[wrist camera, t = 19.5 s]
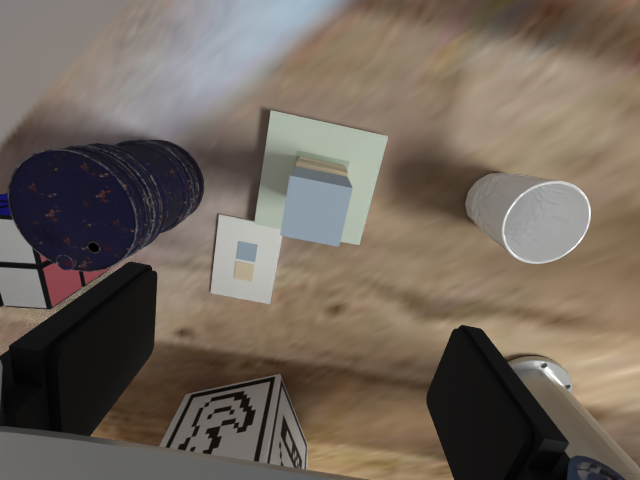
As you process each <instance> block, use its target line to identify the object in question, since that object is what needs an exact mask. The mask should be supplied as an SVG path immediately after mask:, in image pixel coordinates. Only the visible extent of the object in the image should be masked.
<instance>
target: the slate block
mask: <svg viewBox="0 0 640 480" xmlns="http://www.w3.org/2000/svg"><path fill="white" fill-rule="evenodd" d="M352 190H353V188H352V185H351V183H350V181H349V179H348V177H346V176H341V175H336V174H331V173H326V172H322V171H317V170H312V169H307V168H302V167H297V166H296V167H295V169H294V170H293V172H292V173H291V175H290V178H289V184H288V190H287V196H286V202H285V208H284V214H283V220H282V226H281V232H280V236H285V237H291V238H296V239H301V240H306V241H312V242H317V243H322V244H327V245H332V246H338V247H339V245H340V241H341V237H342V232H343V228H344V224H345V219H346V215H347V211H348V207H349V202H350V198H351V194H352Z"/></svg>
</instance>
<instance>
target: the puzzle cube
mask: <svg viewBox="0 0 640 480" xmlns="http://www.w3.org/2000/svg"><path fill="white" fill-rule="evenodd" d="M108 270H109V268H108V269H104V270H100V271H93V272H83V271H76V270H68V271H66V270H62V269H61V268H59V267H58V266H57V264H55V263H53V262H51V261H49V260H48V259H46V258H44V257H43V256H42V255H40V254H39V253H38V252H37V251H35V250H34V249H33V248H32V247H31V246H30V245H29V244H28V243H27V242H26V240H25V239H24V238H23V236H22V235H21V234H20V232H19V230H18V229H17V227H16V225H15V223H14V221H13V219H12V216H11V213H10V209H9V204H8V193H6V194H1V195H0V307H2V306H7V307H18V308H35V309H51V308H53V307H54V306H56V305H57V304H59V303H60V302H62V301H63V300H65V299H66V298H68V297H69V296H71V295H72V294H74V293H75V292H77V291H78V290H80V289H81V288H82V287H84V286H86V285H87V284H89V283H90V282H92V281H93V280H95V279H96V278H98V277H99V276H101V275H102V274H104V273H105V272H107V271H108Z"/></svg>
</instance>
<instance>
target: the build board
mask: <svg viewBox="0 0 640 480" xmlns="http://www.w3.org/2000/svg"><path fill="white" fill-rule="evenodd" d="M387 139H388V136H385V135H380V134H376V133H371V132H367V131H362V130H358V129H353V128H349V127H344V126H340V125H335V124H331V123H326V122H322V121H317V120H313V119H308V118H304V117H299V116H295V115H290V114H286V113H281V112H277V111H272V110H271V113H270V120H269V127H268V134H267V140H266V147H265V154H264V161H263V167H262V174H261V181H260V188H259V194H258V201H257V208H256V215H255V221H254V224H256V225H261V226H266V227H271V228H276V229H281V226H282V220H283V214H284V208H285V202H286V196H287V190H288V184H289V178H290V175H291V173H292V172H293V170H294V169H295V167H296V162H297V161H298V159H299V158H300V157H301V156H302V157H307V158H311V159H316V160H321V161H326V162H330V163H335V164H340V165H345V167H346V170H347V172H348V176H347V177H348V179H349V181H350V183H351V185H352V188H353V190H352V194H351V198H350V202H349V207H348V211H347V215H346V219H345V224H344V228H343V232H342V237H341V241H340V242H345V243H350V244H355V245H359V244H360V241H361V237H362V233H363V229H364V226H365V222H366V218H367V214H368V211H369V207H370V203H371V199H372V195H373V192H374V188H375V184H376V180H377V177H378V173H379V169H380V165H381V162H382V158H383V154H384V150H385V146H386V143H387Z"/></svg>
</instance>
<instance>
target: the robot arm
mask: <svg viewBox="0 0 640 480" xmlns="http://www.w3.org/2000/svg"><path fill="white" fill-rule="evenodd" d="M156 293H157V272H156V271H152V267H151V266H150V265H146V264H140V263H135V262H128V263H127V264H125V265H124V266H122V267H121V268H119V269H118V270H117V271H115V272H114V273H112V274H111V275H109V276H108V277H107V278H105V279H104V280H102V281H101V282H99V283H98V284H97V285H95V286H94V287H92V288H91V289H89V290H88V291H87V292H85V293H84V294H82V295H81V296H79V297H78V298H77V299H75V300H74V301H72V302H71V303H69V304H68V305H67V306H65V307H64V308H62V309H61V310H59V311H58V312H57V313H55V314H54V315H52V316H51V317H49V318H48V319H47V320H45V321H44V322H42V323H41V324H39V325H38V326H37V327H35V328H34V329H32V330H31V331H29V332H28V333H27V334H25V335H24V336H22V337H21V338H19V339H18V340H17V341H15V342H14V343H12V344H11V345H9V350H8V351H7V352H5V353H4V354H3V355H1V356H0V480H368V479H362V478H355V477H349V476H343V475H337V474H331V473H324V472H318V471H312V470H306V469H300V468H293V467H287V466H281V465H275V464H268V463H262V462H256V461H250V460H243V459H237V458H230V457H224V456H217V455H211V454H205V453H198V452H192V451H185V450H179V449H172V448H166V447H159V446H153V445H146V444H140V443H133V442H127V441H120V440H113V439H105V438H98V437H91V436H90V435H91V434H92V433H93V431H94V430H95V429H96V427H97V426H98V425H99V423H100V422H101V421H102V419H103V418H104V417H105V415H106V414H107V413H108V411H109V410H110V409H111V407H112V406H113V405H114V404H115V402H116V401H117V400H118V398H119V397H120V396H121V394H122V393H123V392H124V390H125V389H126V388H127V386H128V385H129V384H130V382H131V381H132V380H133V378H134V377H135V376H136V374H137V373H138V372H139V370H140V369H141V368H142V366H143V365H144V364H145V362H146V361H147V360H148V358H149V357H150V355H151V353H152V351H153V347H154V334H155V314H156ZM572 390H573V389H572V381H571V378H570V376H569V374H568V373H567V371H566V370H565V369H564V368H563V367H562V366H561V365H559V364H558V363H557V362H555V361H553V360H551V359H549V358H545V357H540V356H527V357H521V358H517V359H513V360H511V361H508V362H507V361H506V360H505V359H504V357H503V356H502V355H501V353H500V352H499V351H498V349H497V348H496V347H495V346H494V344H493V343H492V342H491V340H490V339H489V338H488V337H487V335H486V334H485V333H484V331H483V330H482V329H480V328H475V327H470V326H465V325H461V326H460V327H459V328H458V329H454V330H453V331H452V333H451V336H450V338H449V341H448V343H447V346H446V348H445V351H444V353H443V356H442V358H441V361H440V363H439V366H438V368H437V371H436V373H435V376H434V378H433V381H432V383H431V385H430V388H429V390H428V393H427V406H428V409H429V412H430V415H431V417H432V420H433V423H434V426H435V428H436V431H437V434H438V437H439V439H440V442H441V445H442V447H443V450H444V453H445V456H446V458H447V461H448V464H449V467H450V469H451V472H452V475H453V477H454V480H640V468H639V467H638V466H637V464H636V463H635V462H634V461H633V460H632V459H631V458H630V457H629V456H628V455H627V454H626V453H625V451H624V450H623V449H622V448H621V447H620V446H619V445H618V444H617V443H616V442H615V441H614V439H613V438H612V437H611V436H610V435H609V434H608V433H607V432H606V431H605V430H604V429H603V428H602V426H601V425H600V424H599V423H598V422H597V421H596V420H595V419H594V418H593V417H592V416H591V414H590V413H589V412H588V411H587V410H586V409H585V408H584V407H583V406H582V405H581V404H580V403H579V401H578V400H577V399H576V398H575V397H574V396H573V395H572Z"/></svg>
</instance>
